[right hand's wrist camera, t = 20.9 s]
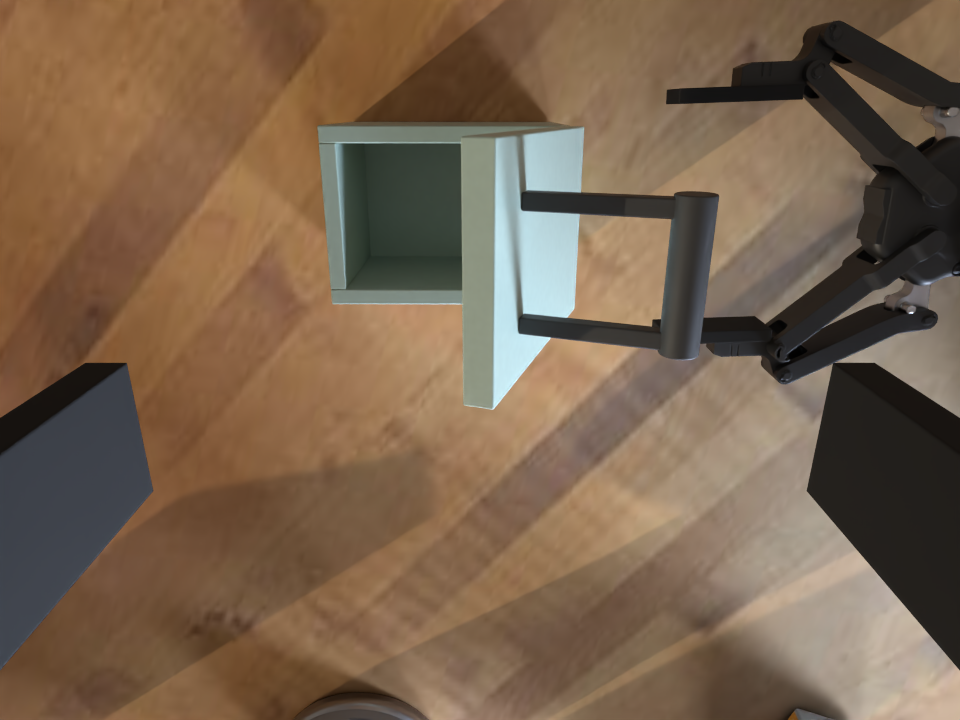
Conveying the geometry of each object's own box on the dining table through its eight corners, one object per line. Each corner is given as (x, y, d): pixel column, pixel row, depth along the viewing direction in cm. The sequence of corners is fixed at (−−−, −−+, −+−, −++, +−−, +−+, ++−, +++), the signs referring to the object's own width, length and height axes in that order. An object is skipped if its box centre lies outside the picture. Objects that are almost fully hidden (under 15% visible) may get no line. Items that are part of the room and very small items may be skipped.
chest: (361, 265, 46) (331, 304, 37) (351, 121, 43) (316, 125, 34) (546, 265, 46) (562, 304, 37) (551, 121, 43) (570, 125, 34)
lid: (462, 405, 24) (686, 440, 22) (459, 135, 21) (725, 139, 19) (552, 307, 37) (704, 322, 34) (560, 125, 33) (729, 127, 31)
